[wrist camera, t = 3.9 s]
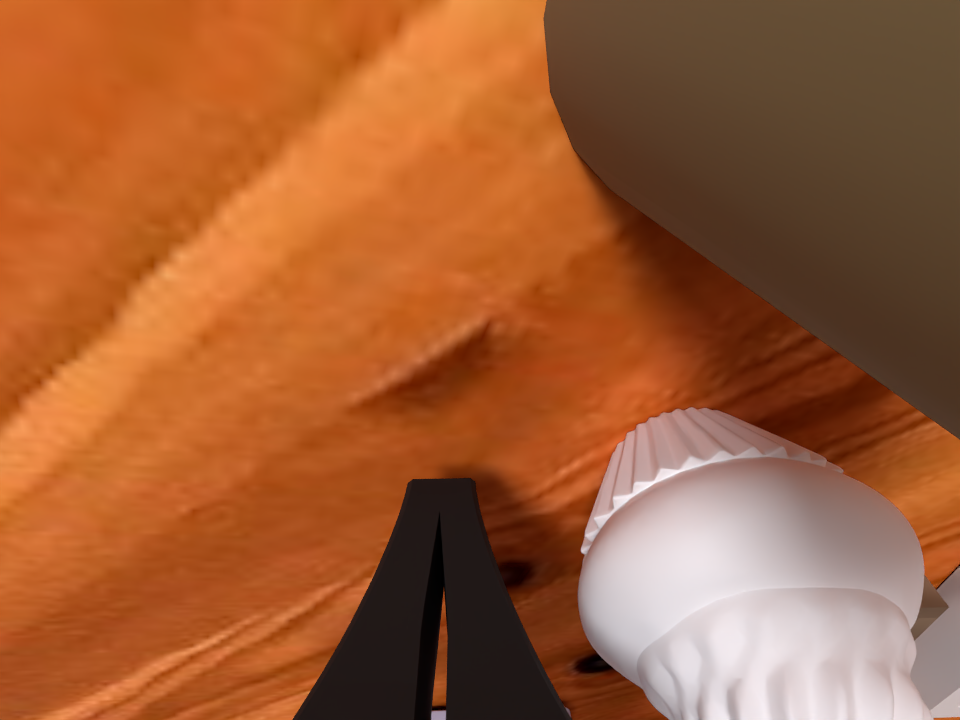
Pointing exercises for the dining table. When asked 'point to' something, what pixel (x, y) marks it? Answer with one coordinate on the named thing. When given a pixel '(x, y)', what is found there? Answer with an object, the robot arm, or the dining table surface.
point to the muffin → (749, 578)
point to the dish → (941, 656)
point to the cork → (790, 158)
